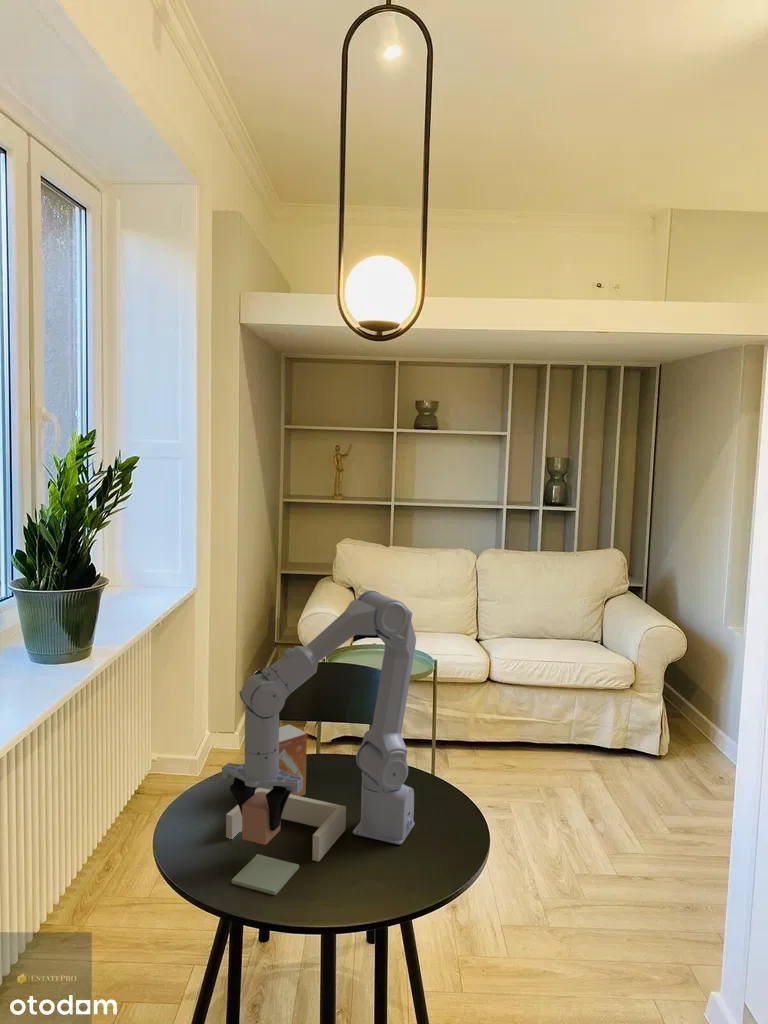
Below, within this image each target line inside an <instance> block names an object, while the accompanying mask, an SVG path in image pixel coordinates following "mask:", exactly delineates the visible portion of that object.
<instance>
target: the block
mask: <svg viewBox="0 0 768 1024" xmlns="http://www.w3.org/2000/svg"><path fill="white" fill-rule="evenodd" d="M281 820H282V819H281ZM281 820H280V825H279V827H278V828H277V829H276V830H275V831H271V830H270V825H269V806H268V802H267V798H266V793H262V792H257V793H256V794H254V795H253V796H252V797H251V798H250V799H248V800H247V801H246V802H245V803H244V804H243V805H242V831H241V839H242V840H244V841H248V842H253V843H257V844H260V845H261V844H262V845H263V846H265V845H267V844H269V842H270V841H271V840H272V839H273V838H274V837H275V836H276V835H277V834H278V833H279V832H280V831H281V823H282V822H281Z"/></svg>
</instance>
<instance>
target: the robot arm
mask: <svg viewBox="0 0 768 1024" xmlns="http://www.w3.org/2000/svg"><path fill="white" fill-rule="evenodd" d="M412 618H413V613H412V611H411V610H410V609H409V607H407V605H406V604H405V603H404V602H402V601H400V600H398V599H394V598H392V597H390V596H387V595H385V594H382V593H380V592H378V591H376V590H366V591H365V592H362V593H361V594H360V595H359V597H358V598H355V599H353V600H352V601H350V602H349V604H348V606H347V607H346V609H345V610H344V612H342V613H341V614H340V615H339V616H337V618H336V619H334V621H332V622H331V623H330V624H329V625H328V626H327V627H326V628H325V629H323V631H321V632H320V633H319V634H318V635H317V636H316V637H315V638H313V639H312V640H311V641H310V642H309V643H308V644H307V645H304V646H302V645H301V646H300V645H295V646H294V647H292V648H290V647H288V648H287V649H285V650H283V654H284V655H283V656H281V657H280V658H279V659H277V660H276V661H274V662H273V664H271V665H270V666H269V667H265V668H263V669H262V670H261V673H258V674H253V675H251V676H250V677H248V678H247V679H246V680H245V681H244V683H243V686H242V687H241V690H239V693H238V694H239V698H240V700H241V702H242V703H243V704H244V705H245V706H244V764H243V763H233V762H232V763H231V762H228V763H226V764H225V765H223V766H222V767H221V778H222V779H224V780H225V779H226V780H227V779H229V778H231V779H233V783H231V785H230V786H229V791H230V793H231V794H232V796H233V797H234V799H235V801H236V802H237V805H239V808H240V811H241V814H242V805H243V804H244V803H245V802H246V801H247V800H248V799H250V798H251V797H252V796H253V795H254V794H255V790H256V786H257V785H263V786H272V787H273V789H272V790H271V791H270V792H268V793H267V794H266V798H267V802H268V806H269V825H270V830H271V831H275V830H276V829H277V828H278V827H279V825H280V826H281V823H280V820H282V819H281V816H282V812H283V809H284V806H285V804H286V801H287V799H288V797H289V795H290V793H291V791H292V793H294V794H298V793H299V792H300V791H301V790H302V789H303V778H300V777H297V776H294V775H292V774H290V773H288V772H285V771H283V770H281V769H279V727H280V712H282V709H283V708H284V706H285V704H286V700H287V698H288V697H289V696H290V694H293V692H295V690H298V688H299V687H301V686H302V685H303V684H304V683H305V682H307V681H308V680H309V679H310V678H311V677H313V676H314V675H315V674H316V673H317V671H318V666H319V663H320V661H321V660H323V659H324V658H326V657H327V656H328V655H330V654H331V653H333V652H334V651H336V650H337V649H338V648H339V647H341V646H342V645H344V644H345V643H346V642H348V641H350V639H352V638H353V637H355V636H376V635H377V637H379V639H380V640H381V641H382V642H383V643H384V650H383V658H382V665H381V669H380V674H379V675H380V676H379V682H378V683H379V684H378V688H377V695H376V699H375V700H376V701H375V708H374V713H373V720H372V726H371V728H370V729H368V730H367V731H365V733H364V734H363V738H362V742H361V744H360V746H359V747H358V750H357V752H356V755H355V762H356V765H357V766H358V768H359V769H360V770H361V777H362V778H361V799H360V800H361V803H360V807H361V808H360V822H359V823H358V824H357V825H356V826H355V827H354V829H353V830H352V834H353V835H356V836H360V837H364V838H369V839H373V840H376V841H377V840H378V841H382V842H386V843H390V844H395V845H402V844H403V843H404V841H405V840H406V838H407V837H408V835H409V834H410V832H411V830H412V829H413V827H414V826H415V820H414V816H415V813H414V811H415V792H414V788H413V787H411V786H409V785H406V784H404V783H405V782H406V780H407V778H408V775H409V765H408V761H407V754H408V749H407V746H406V744H405V741H404V738H403V736H402V730H403V726H404V725H403V723H404V718H405V713H406V706H407V700H408V699H407V698H408V693H409V687H410V681H411V675H412V671H413V670H412V669H413V663H414V657H415V649H416V644H417V637H416V633H415V629H414V626H413V622H412Z"/></svg>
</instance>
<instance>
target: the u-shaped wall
mask: <svg viewBox="0 0 768 1024" xmlns="http://www.w3.org/2000/svg"><path fill="white" fill-rule="evenodd" d="M270 791H271V790H269V789H264V788H259V787H258V788H257V789H255V794H256V793H257V792H262V793H266V794H267V793H268V792H270ZM346 814H347V806H346V805H340V804H338V803H337V804H336V803H332V802H327V801H323V800H319V799H314V798H309V797H304V796H296V795H292V794H290V795H289V797H288V799H287V801H286V804H285V806H284V809H283V812H282V816H281V820H285V821H286V820H287V821H290V822H295V823H297V824H304V825H307V826H310V827H311V826H312V827H315V828H318V829H316V831H315V832H314V833H313V834H312V854H311V855H312V858H311V859H312V861H313V862H320V861H321V860H322V859H323V857H324V856H325V855H326V854H327V853H328V852H329V850H330V849H331V848H332V846H334V844H335V843H336V842H337V840H338V839H339V838H340V837H341V836H342V835H343V833H344V832H345V831H346V828H347V827H346V826H347V825H346V821H347V815H346ZM225 818H226V819H225V828H226V829H225V836H226V837H225V838H229V839H228V840H230V839H232V840H233V839H235V838H236V837H237V836H238V835H239V834H240V833H242V814H241V811H240V808H239V805H238V804H237V805H235V807H233V808H232V809H231V810H229V811H228V812H227V813H226V815H225ZM239 832H240V833H239ZM238 833H239V834H238ZM237 834H238V835H237ZM236 835H237V836H236ZM235 836H236V837H235ZM234 837H235V838H234Z"/></svg>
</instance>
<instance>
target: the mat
mask: <svg viewBox="0 0 768 1024" xmlns="http://www.w3.org/2000/svg"><path fill="white" fill-rule="evenodd" d="M299 869H300V864H298V863H294V862H289V861H286V860H281V859H278V858H275V857H270V856H266V855H262V854H258V853H257V854H256V855H255V856H254V857H253V858H252V859H251V860H250V861H248V863H247V864H246V865H244V867H243V868H242V869H241V870H240V871H239V872H238V873H237V874H236V875H235V876H234V877H233V878H232V879H231V884H233V885H237V886H241V887H243V888H247V889H251V890H254V891H258V892H262V893H266V894H268V895H273V896H276V895H277V894H279V892H280V891H281V890H282V888H283V887H284V886H285V885H286V884H287V883H288V881H289V880H290V879H291V878H292V877H293V875H295V873H296V872H297V871H298V870H299Z"/></svg>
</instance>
